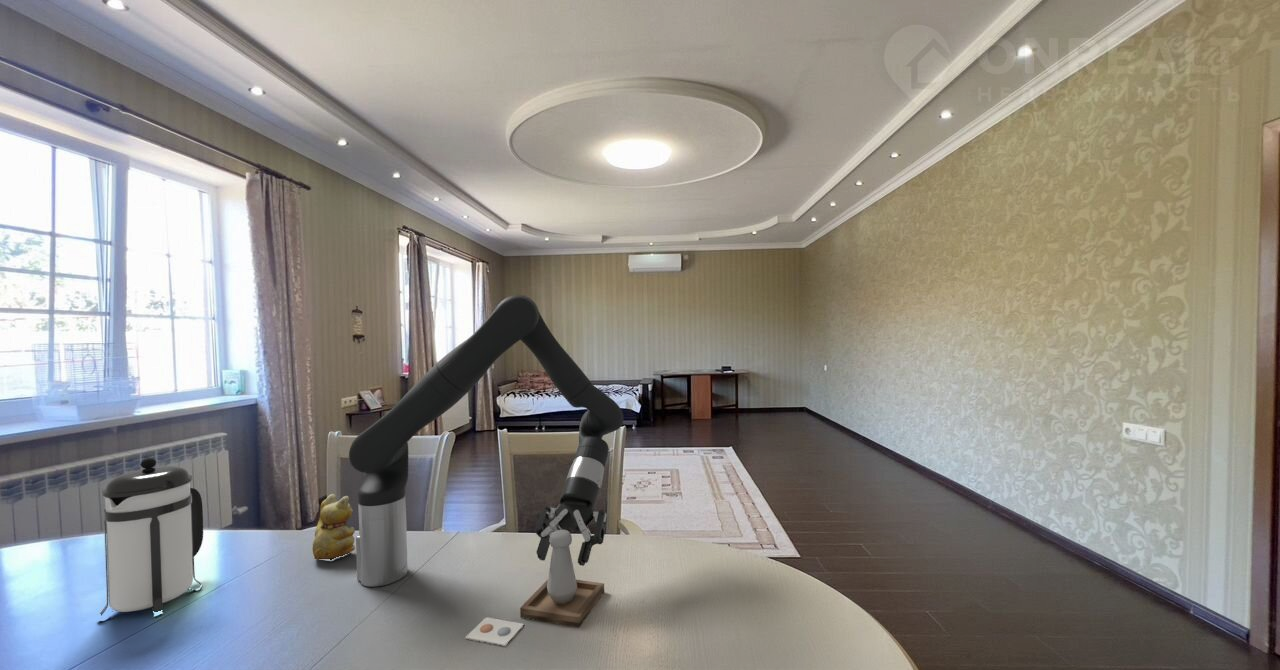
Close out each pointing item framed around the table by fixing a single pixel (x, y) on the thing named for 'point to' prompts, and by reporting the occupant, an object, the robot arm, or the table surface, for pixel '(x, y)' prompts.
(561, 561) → the salt shaker
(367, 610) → the table surface
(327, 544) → the decorative figurine
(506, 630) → the card
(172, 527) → the coffee press
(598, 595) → the walnut tray
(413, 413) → the robot arm
